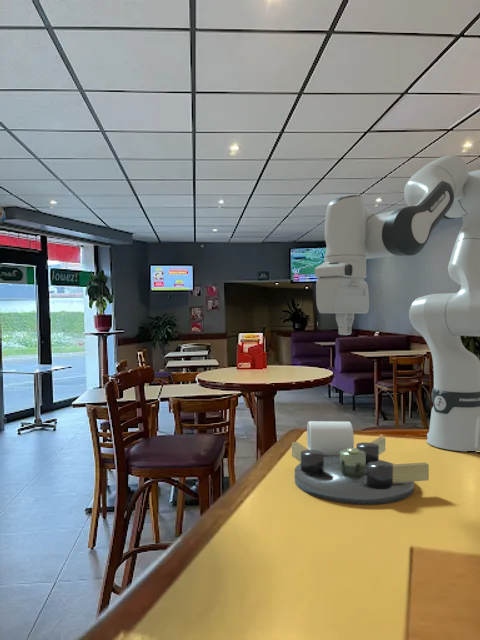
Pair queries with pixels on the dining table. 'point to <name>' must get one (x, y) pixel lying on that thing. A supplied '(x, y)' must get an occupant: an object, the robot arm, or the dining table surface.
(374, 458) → the knob
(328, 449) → the mug
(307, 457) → the knob
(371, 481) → the knob
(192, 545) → the dining table surface
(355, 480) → the tribrach plate
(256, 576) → the dining table surface
